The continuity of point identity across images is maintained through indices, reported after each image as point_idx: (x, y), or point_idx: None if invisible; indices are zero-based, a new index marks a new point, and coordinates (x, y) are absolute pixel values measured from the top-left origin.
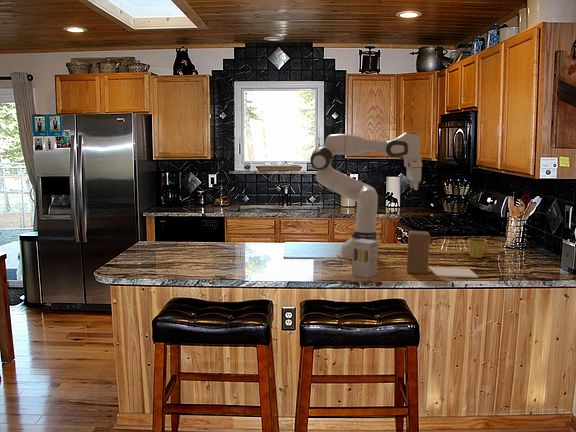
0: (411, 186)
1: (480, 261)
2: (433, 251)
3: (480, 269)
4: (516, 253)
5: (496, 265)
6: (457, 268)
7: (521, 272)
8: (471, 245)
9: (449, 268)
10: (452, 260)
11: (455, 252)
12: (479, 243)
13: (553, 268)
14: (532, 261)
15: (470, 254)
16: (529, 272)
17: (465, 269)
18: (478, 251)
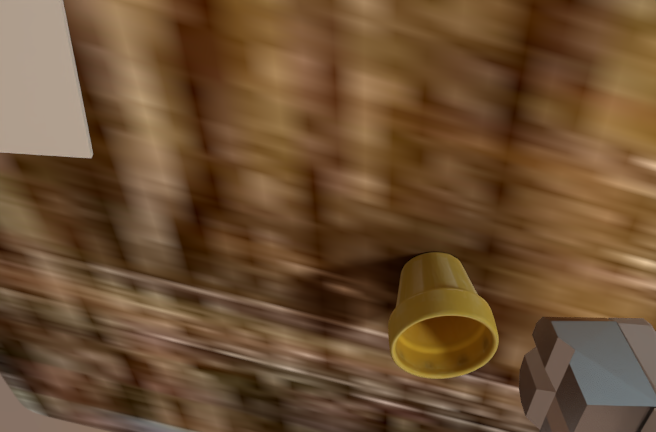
0: (562, 372)
1: (316, 258)
2: (609, 103)
3: (123, 207)
4: (479, 409)
5: (234, 291)
6: (75, 98)
7: (112, 330)
8: (417, 296)
9: (58, 50)
10: (334, 139)
11: (549, 213)
12: (390, 334)
13: (215, 425)
14: (329, 410)
15: (436, 258)
16: (121, 352)
17: (63, 133)
18: (397, 297)
